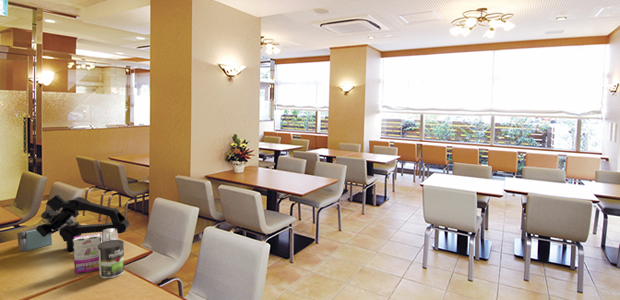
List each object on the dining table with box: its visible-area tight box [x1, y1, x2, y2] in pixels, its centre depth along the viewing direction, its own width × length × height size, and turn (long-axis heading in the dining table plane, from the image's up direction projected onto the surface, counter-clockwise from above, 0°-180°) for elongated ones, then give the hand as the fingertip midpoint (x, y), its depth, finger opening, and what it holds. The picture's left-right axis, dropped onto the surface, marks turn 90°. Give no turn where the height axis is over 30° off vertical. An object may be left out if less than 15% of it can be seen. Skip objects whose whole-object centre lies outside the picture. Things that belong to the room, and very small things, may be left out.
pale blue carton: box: [16, 224, 40, 252], centre depth 188 cm, size 4×14×10 cm, turn 174°
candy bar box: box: [72, 232, 102, 275], centre depth 163 cm, size 11×5×16 cm, turn 117°
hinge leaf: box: [20, 229, 53, 253], centre depth 186 cm, size 2×13×10 cm, turn 144°
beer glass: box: [101, 228, 119, 242], centre depth 175 cm, size 7×7×15 cm
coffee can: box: [98, 239, 126, 279], centre depth 161 cm, size 10×10×14 cm
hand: (45, 235), depth 186 cm, fingers closed
